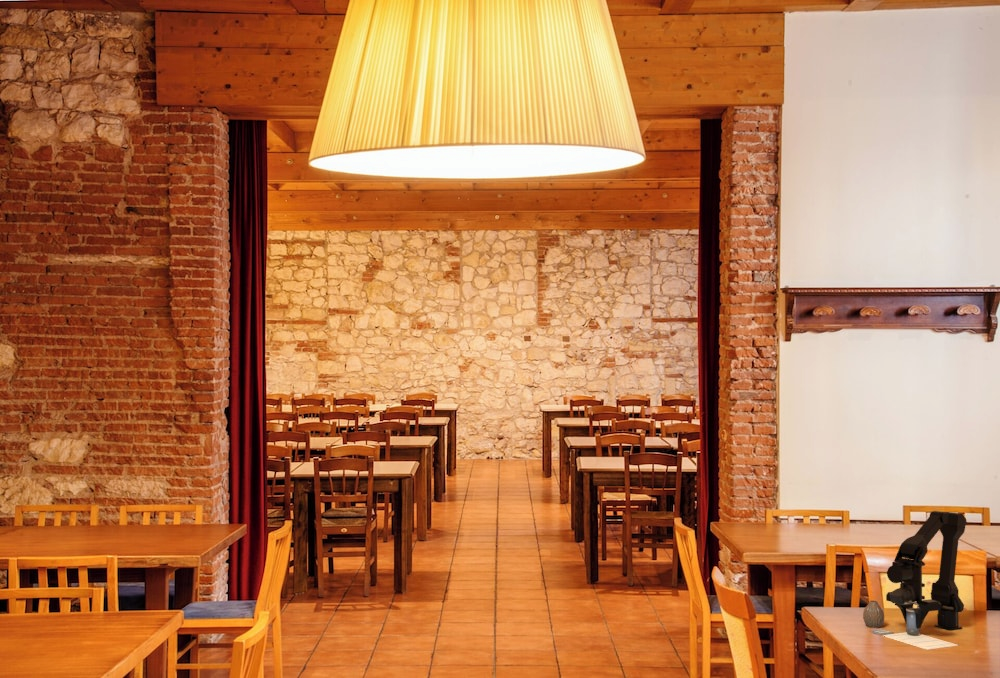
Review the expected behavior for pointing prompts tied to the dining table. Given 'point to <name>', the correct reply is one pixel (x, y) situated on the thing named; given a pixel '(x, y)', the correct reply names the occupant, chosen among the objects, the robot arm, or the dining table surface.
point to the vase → (873, 615)
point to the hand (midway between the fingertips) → (913, 627)
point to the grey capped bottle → (911, 622)
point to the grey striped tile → (882, 632)
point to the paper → (920, 641)
